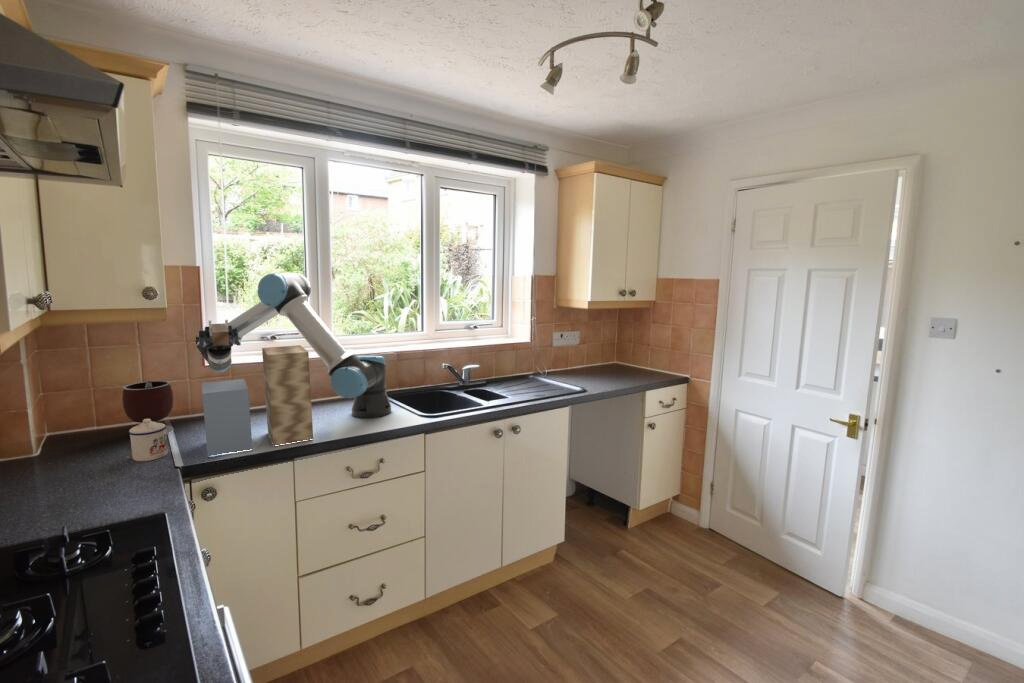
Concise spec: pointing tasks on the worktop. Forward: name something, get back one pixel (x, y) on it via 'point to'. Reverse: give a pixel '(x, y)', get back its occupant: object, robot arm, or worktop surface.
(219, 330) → the walnut bar
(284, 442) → the oak stand
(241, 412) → the slate base
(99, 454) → the worktop surface
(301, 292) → the robot arm
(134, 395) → the mate gourd
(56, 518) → the worktop surface
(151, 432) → the teacup with lid
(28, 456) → the worktop surface
